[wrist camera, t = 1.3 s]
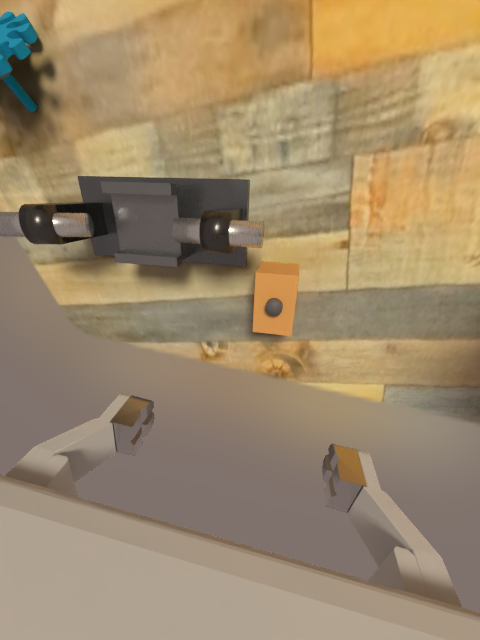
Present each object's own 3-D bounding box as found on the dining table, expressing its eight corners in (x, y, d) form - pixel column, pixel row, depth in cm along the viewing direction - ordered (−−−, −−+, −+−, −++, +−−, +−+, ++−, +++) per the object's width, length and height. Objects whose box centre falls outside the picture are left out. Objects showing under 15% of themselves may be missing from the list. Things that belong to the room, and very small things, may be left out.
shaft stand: (273, 180, 27) (260, 172, 17) (267, 265, 31) (253, 298, 21) (64, 176, 31) (-40, 168, 21) (82, 251, 35) (2, 273, 25)
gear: (44, -1, 23) (-24, 71, 20) (90, 79, 28) (43, 145, 25) (-40, 6, 25) (-109, 70, 23) (18, 78, 31) (-33, 137, 28)
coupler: (261, 261, 31) (254, 274, 26) (298, 263, 30) (299, 278, 25) (258, 313, 34) (251, 335, 29) (292, 317, 33) (291, 339, 28)
